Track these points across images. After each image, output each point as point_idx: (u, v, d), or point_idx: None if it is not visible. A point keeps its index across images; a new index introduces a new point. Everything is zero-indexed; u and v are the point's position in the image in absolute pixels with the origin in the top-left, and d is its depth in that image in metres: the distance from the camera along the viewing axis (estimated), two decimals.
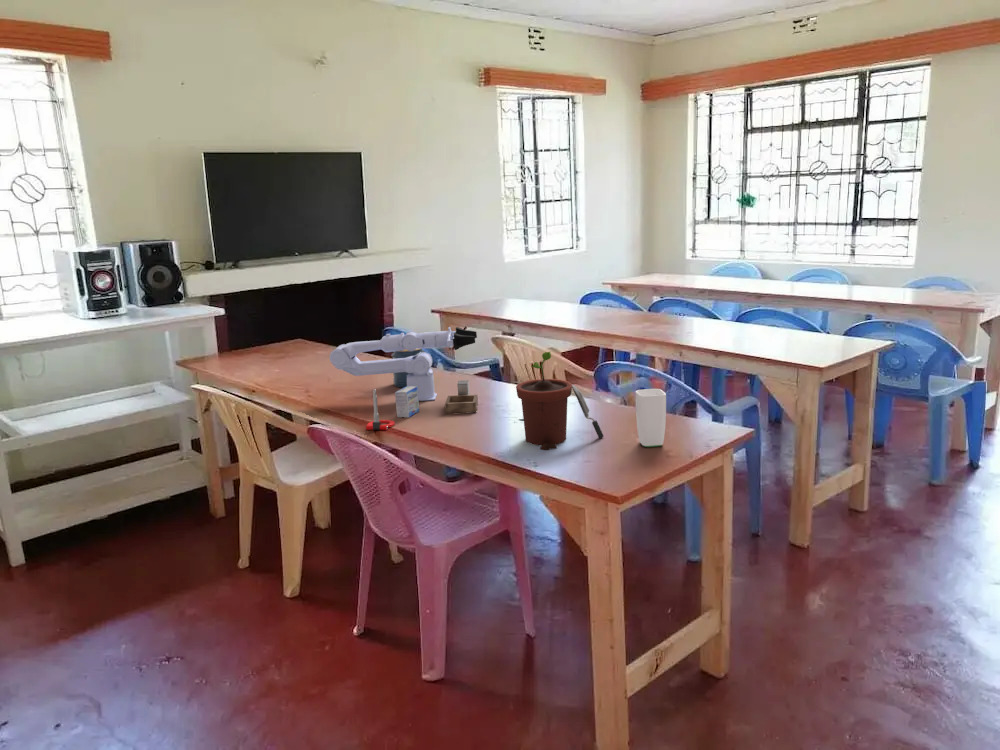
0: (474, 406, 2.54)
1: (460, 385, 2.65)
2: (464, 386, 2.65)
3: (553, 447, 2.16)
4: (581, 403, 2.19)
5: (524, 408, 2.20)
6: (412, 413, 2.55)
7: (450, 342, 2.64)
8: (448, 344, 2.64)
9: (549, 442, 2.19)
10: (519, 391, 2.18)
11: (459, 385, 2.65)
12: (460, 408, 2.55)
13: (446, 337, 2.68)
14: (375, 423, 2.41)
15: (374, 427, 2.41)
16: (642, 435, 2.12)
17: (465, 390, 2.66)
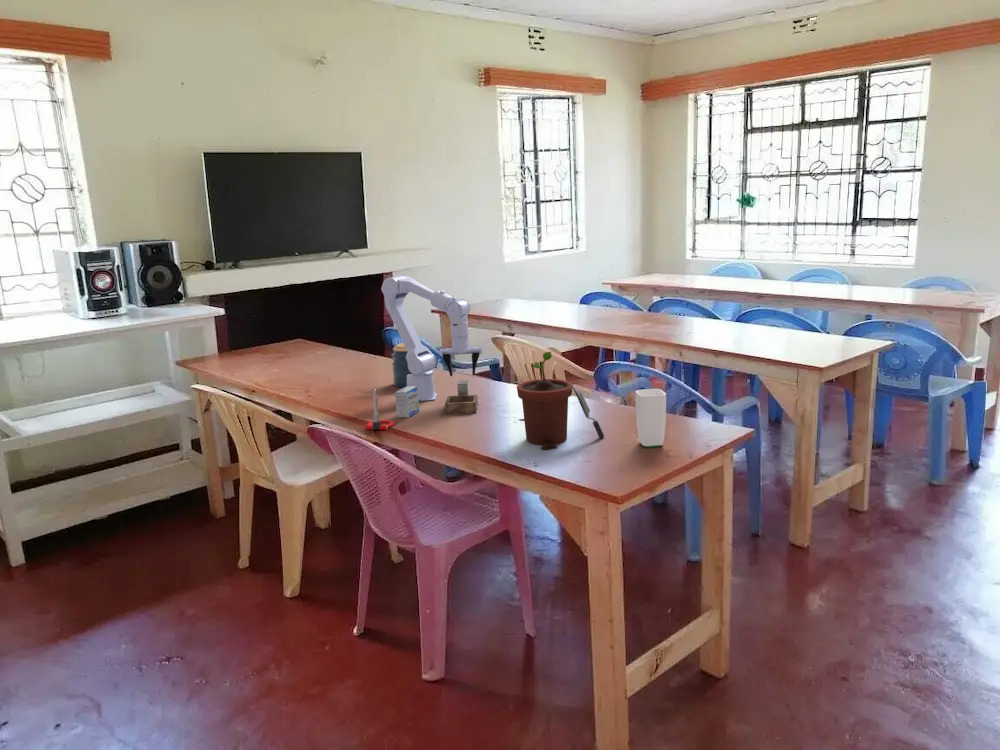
0: (474, 406, 2.54)
1: (460, 385, 2.65)
2: (464, 386, 2.65)
3: (554, 447, 2.16)
4: (582, 403, 2.19)
5: (525, 408, 2.20)
6: (412, 413, 2.55)
7: None
8: None
9: (550, 442, 2.19)
10: (520, 391, 2.18)
11: (459, 385, 2.65)
12: (460, 408, 2.55)
13: (452, 347, 2.64)
14: (375, 423, 2.41)
15: (374, 427, 2.41)
16: (642, 435, 2.12)
17: (465, 390, 2.66)
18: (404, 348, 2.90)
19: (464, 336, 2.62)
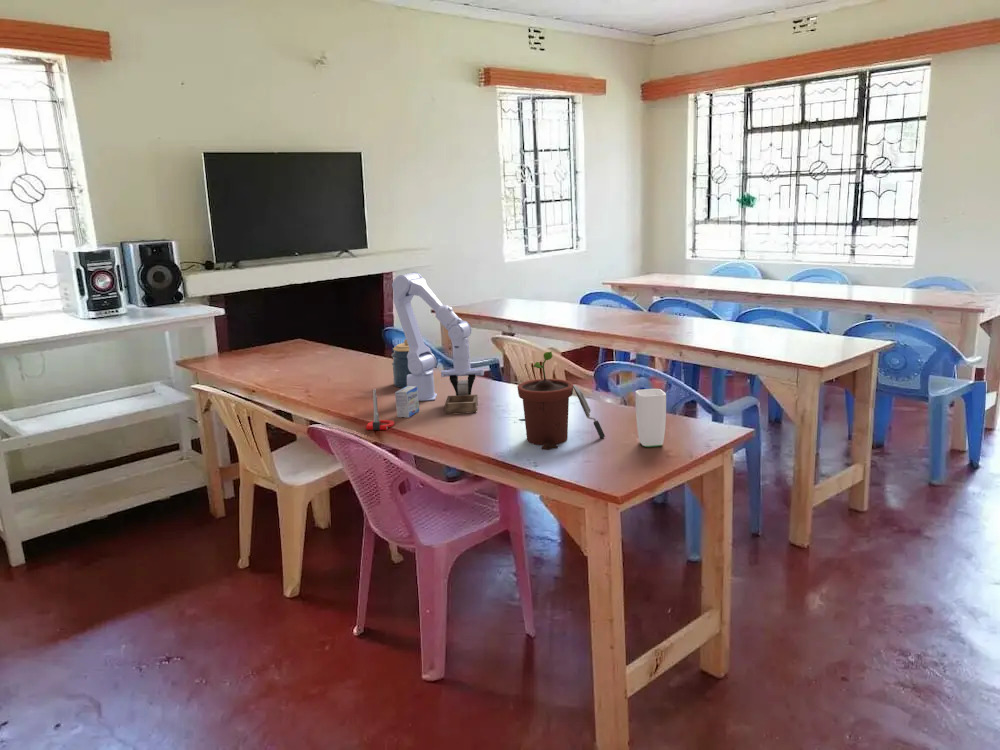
0: (474, 406, 2.54)
1: (460, 385, 2.65)
2: (464, 386, 2.65)
3: (554, 447, 2.16)
4: (582, 403, 2.19)
5: (525, 408, 2.20)
6: (412, 413, 2.55)
7: (441, 374, 2.67)
8: (441, 372, 2.67)
9: (550, 442, 2.19)
10: (520, 391, 2.18)
11: (459, 385, 2.65)
12: (460, 408, 2.55)
13: (454, 369, 2.66)
14: (375, 423, 2.41)
15: (374, 427, 2.41)
16: (642, 435, 2.12)
17: (465, 390, 2.66)
18: (404, 348, 2.90)
19: (465, 358, 2.63)
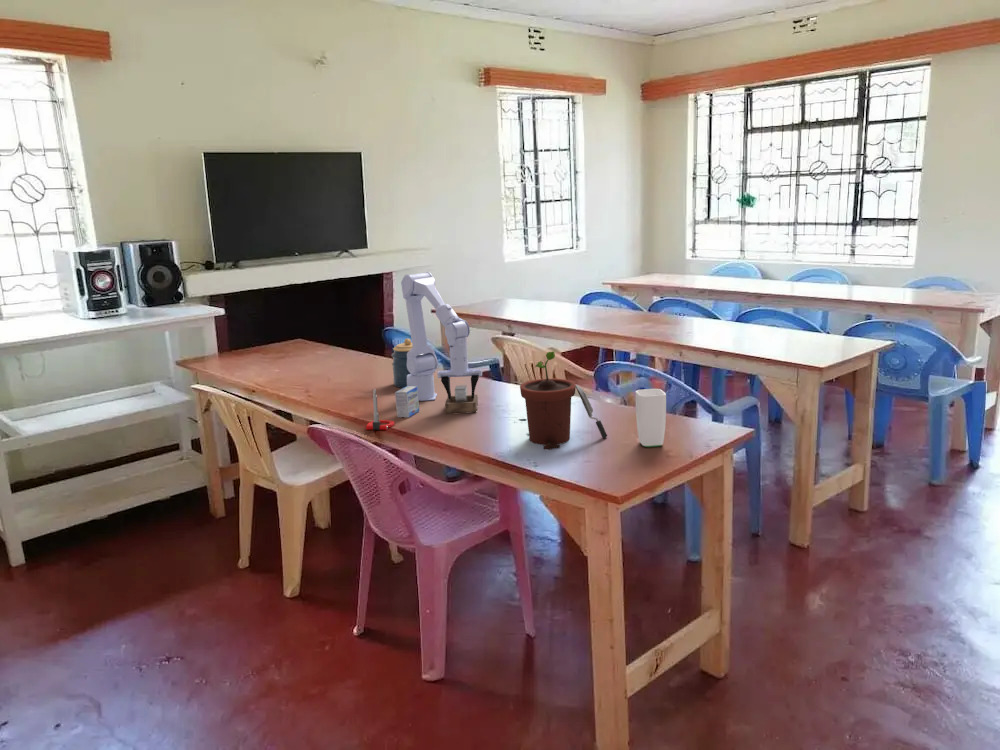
0: (474, 406, 2.54)
1: (458, 390, 2.56)
2: (462, 391, 2.56)
3: (556, 447, 2.16)
4: (585, 403, 2.19)
5: (528, 407, 2.20)
6: (412, 413, 2.55)
7: None
8: None
9: (552, 442, 2.19)
10: (523, 390, 2.18)
11: (456, 390, 2.56)
12: (460, 408, 2.55)
13: (451, 370, 2.56)
14: (375, 423, 2.41)
15: (374, 427, 2.41)
16: (642, 435, 2.12)
17: (463, 395, 2.57)
18: (404, 348, 2.90)
19: (463, 358, 2.54)
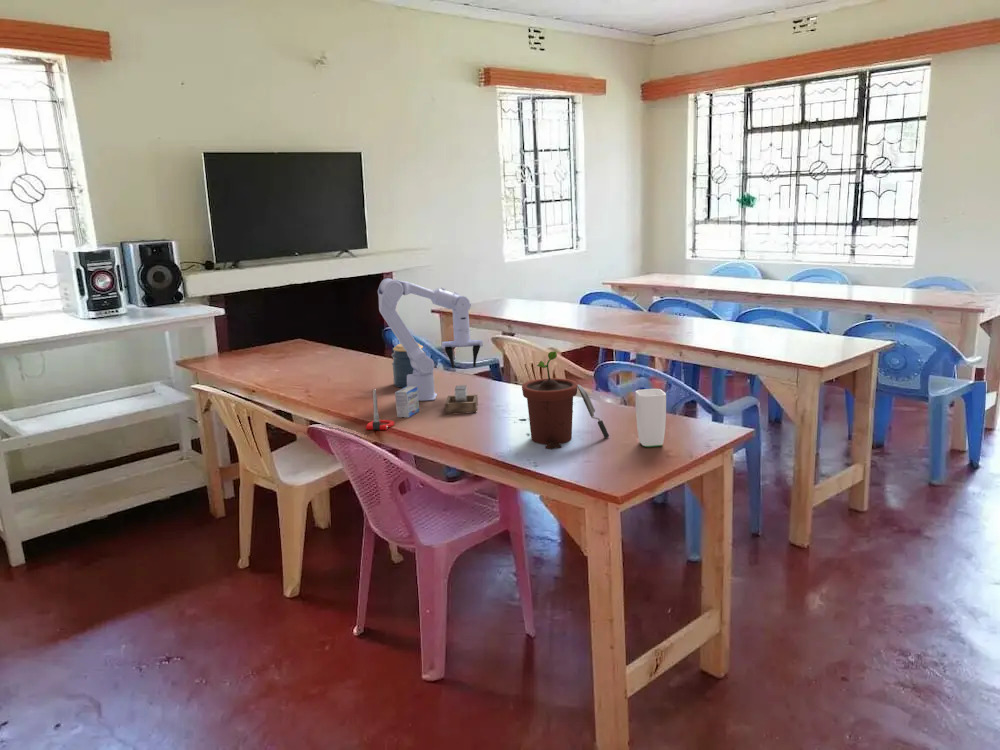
0: (474, 406, 2.54)
1: (458, 390, 2.56)
2: (462, 391, 2.56)
3: (558, 446, 2.17)
4: (586, 403, 2.19)
5: (529, 407, 2.21)
6: (412, 413, 2.55)
7: (442, 345, 2.78)
8: (442, 343, 2.78)
9: (554, 441, 2.19)
10: (524, 390, 2.19)
11: (456, 390, 2.56)
12: (460, 408, 2.55)
13: (454, 340, 2.76)
14: (375, 423, 2.41)
15: (374, 427, 2.41)
16: (642, 435, 2.12)
17: (463, 395, 2.57)
18: None
19: (465, 329, 2.74)
